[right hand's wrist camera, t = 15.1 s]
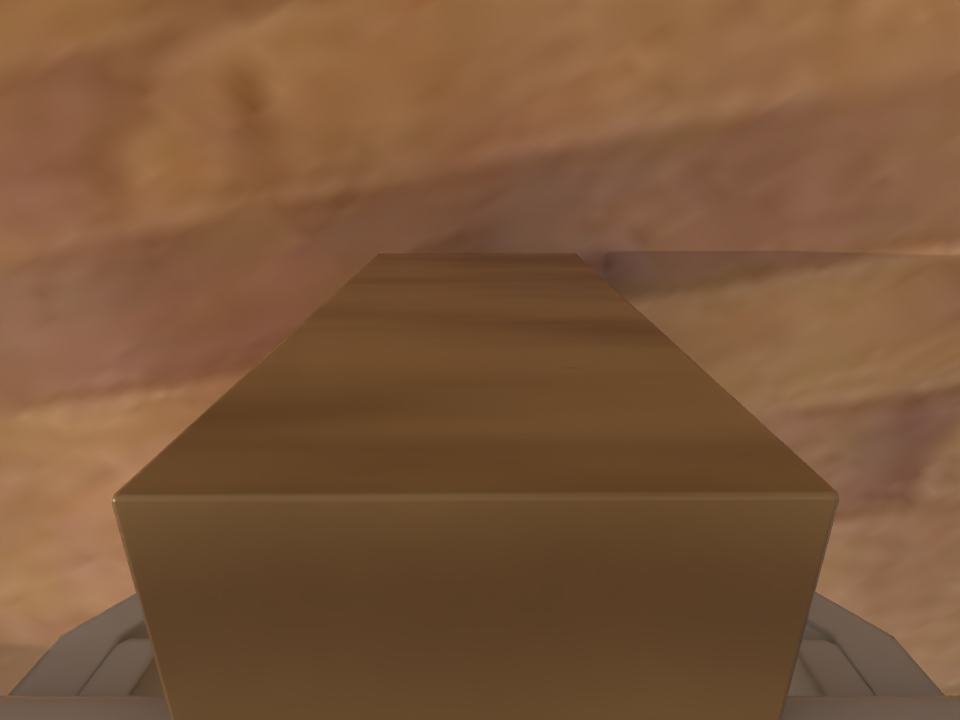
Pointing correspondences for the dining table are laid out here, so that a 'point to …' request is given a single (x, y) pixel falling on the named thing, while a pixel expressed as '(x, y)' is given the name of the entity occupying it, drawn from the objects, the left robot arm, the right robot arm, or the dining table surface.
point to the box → (476, 516)
